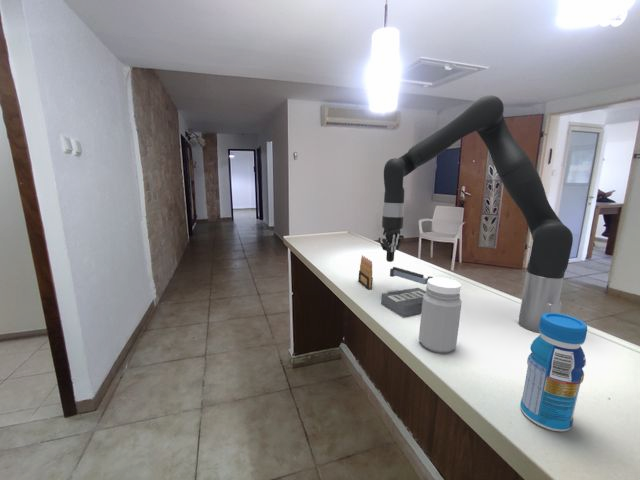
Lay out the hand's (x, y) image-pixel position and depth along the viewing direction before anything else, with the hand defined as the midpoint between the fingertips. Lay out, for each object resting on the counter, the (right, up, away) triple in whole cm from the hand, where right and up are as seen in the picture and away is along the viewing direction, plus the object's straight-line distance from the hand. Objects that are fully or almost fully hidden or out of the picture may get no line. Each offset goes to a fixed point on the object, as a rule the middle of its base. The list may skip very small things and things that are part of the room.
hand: (390, 261), depth 117 cm
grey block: (+6, -16, -7) cm, 18 cm away
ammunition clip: (-7, -11, +14) cm, 20 cm away
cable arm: (+7, -8, +2) cm, 11 cm away
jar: (+6, -21, -32) cm, 39 cm away
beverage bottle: (+17, -26, -57) cm, 65 cm away
